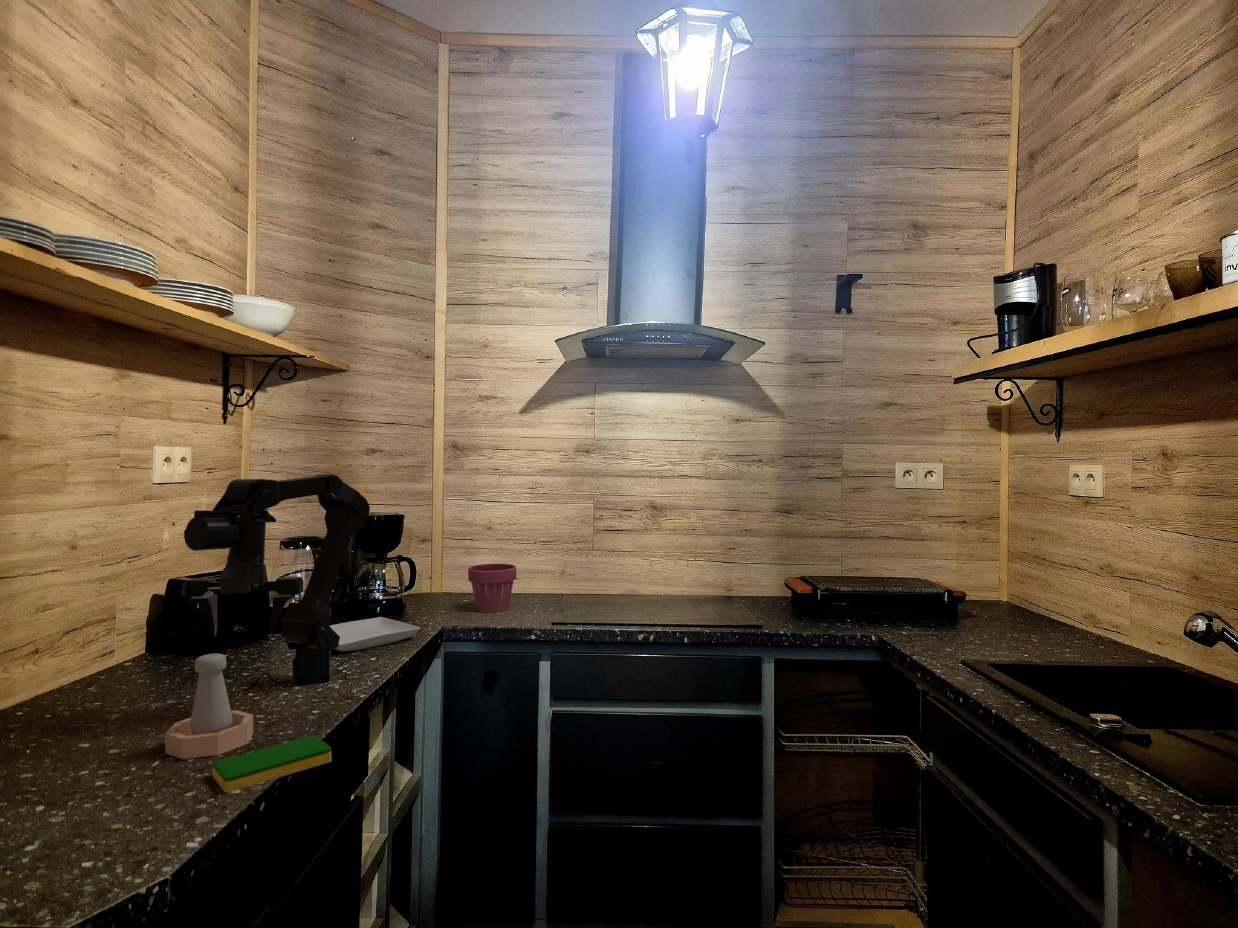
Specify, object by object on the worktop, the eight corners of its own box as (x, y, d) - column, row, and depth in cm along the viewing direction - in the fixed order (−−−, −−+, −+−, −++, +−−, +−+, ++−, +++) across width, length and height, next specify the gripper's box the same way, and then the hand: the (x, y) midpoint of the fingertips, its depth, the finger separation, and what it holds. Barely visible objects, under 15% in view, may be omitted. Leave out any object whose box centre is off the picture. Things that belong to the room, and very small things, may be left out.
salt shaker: (214, 729, 111) (213, 649, 111) (241, 733, 109) (240, 651, 109) (180, 743, 106) (179, 658, 106) (209, 747, 104) (208, 661, 104)
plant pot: (504, 615, 196) (503, 570, 196) (459, 613, 200) (459, 569, 200) (524, 605, 210) (523, 563, 210) (482, 603, 214) (481, 562, 214)
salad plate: (300, 643, 170) (300, 629, 170) (381, 627, 185) (381, 615, 185) (337, 659, 155) (337, 643, 155) (422, 640, 170) (422, 627, 170)
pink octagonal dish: (257, 725, 114) (257, 707, 114) (241, 752, 104) (241, 732, 104) (181, 734, 111) (181, 715, 111) (157, 762, 100) (157, 741, 100)
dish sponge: (332, 764, 100) (332, 747, 100) (225, 796, 91) (225, 777, 91) (315, 749, 105) (314, 733, 105) (212, 778, 96) (212, 761, 96)
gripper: (173, 550, 115) (168, 645, 114) (295, 550, 120) (291, 641, 119) (194, 546, 125) (189, 633, 124) (305, 546, 131) (301, 630, 130)
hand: (242, 634), depth 124 cm, fingers open, 9 cm apart
